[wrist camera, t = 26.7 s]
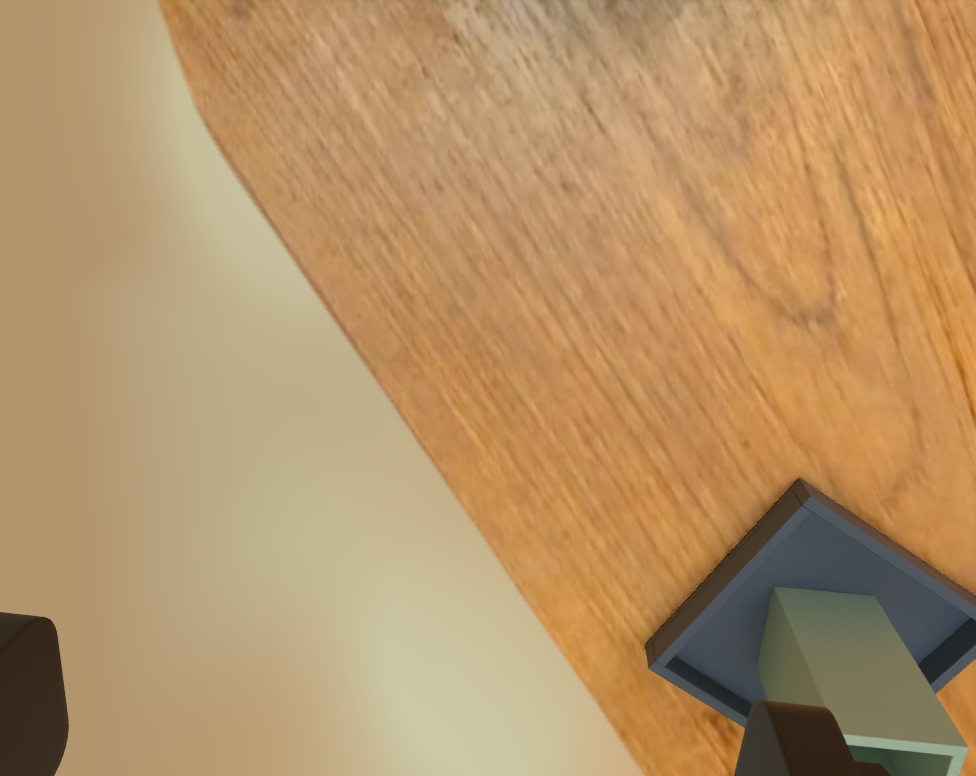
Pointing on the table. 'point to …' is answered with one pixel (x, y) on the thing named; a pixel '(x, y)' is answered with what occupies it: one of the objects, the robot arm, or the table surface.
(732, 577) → the tray
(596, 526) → the table surface
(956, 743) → the sage green rectangular prism
